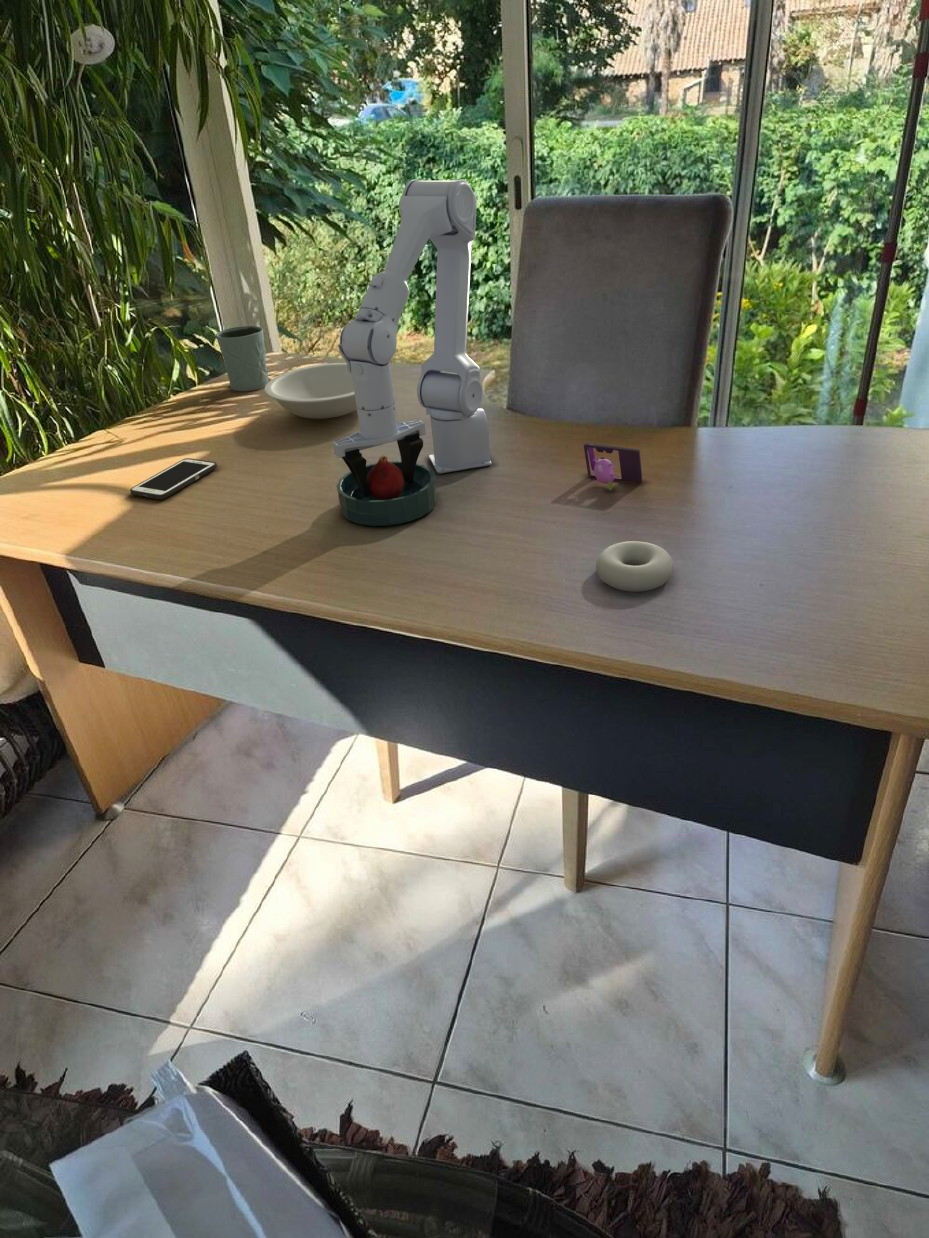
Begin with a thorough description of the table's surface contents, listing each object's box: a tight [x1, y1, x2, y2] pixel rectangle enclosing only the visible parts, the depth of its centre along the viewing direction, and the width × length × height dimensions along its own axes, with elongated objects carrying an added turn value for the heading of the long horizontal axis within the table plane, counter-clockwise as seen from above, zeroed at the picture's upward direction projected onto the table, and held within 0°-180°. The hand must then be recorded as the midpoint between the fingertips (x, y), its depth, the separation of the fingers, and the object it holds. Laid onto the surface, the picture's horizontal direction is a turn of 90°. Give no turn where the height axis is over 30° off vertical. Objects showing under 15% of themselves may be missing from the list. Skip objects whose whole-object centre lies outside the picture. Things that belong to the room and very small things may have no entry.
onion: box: [367, 455, 404, 500], centre depth 136 cm, size 6×6×8 cm
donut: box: [595, 540, 674, 593], centre depth 114 cm, size 10×4×10 cm
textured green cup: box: [215, 325, 270, 392], centre depth 194 cm, size 10×10×12 cm
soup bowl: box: [263, 362, 357, 420], centre depth 176 cm, size 24×24×7 cm
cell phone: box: [129, 457, 218, 500], centre depth 153 cm, size 8×15×1 cm, turn 153°
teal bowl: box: [336, 460, 438, 527], centre depth 137 cm, size 15×15×4 cm
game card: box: [583, 442, 643, 491], centre depth 137 cm, size 7×5×9 cm
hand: (386, 488), depth 136 cm, fingers open, 7 cm apart
